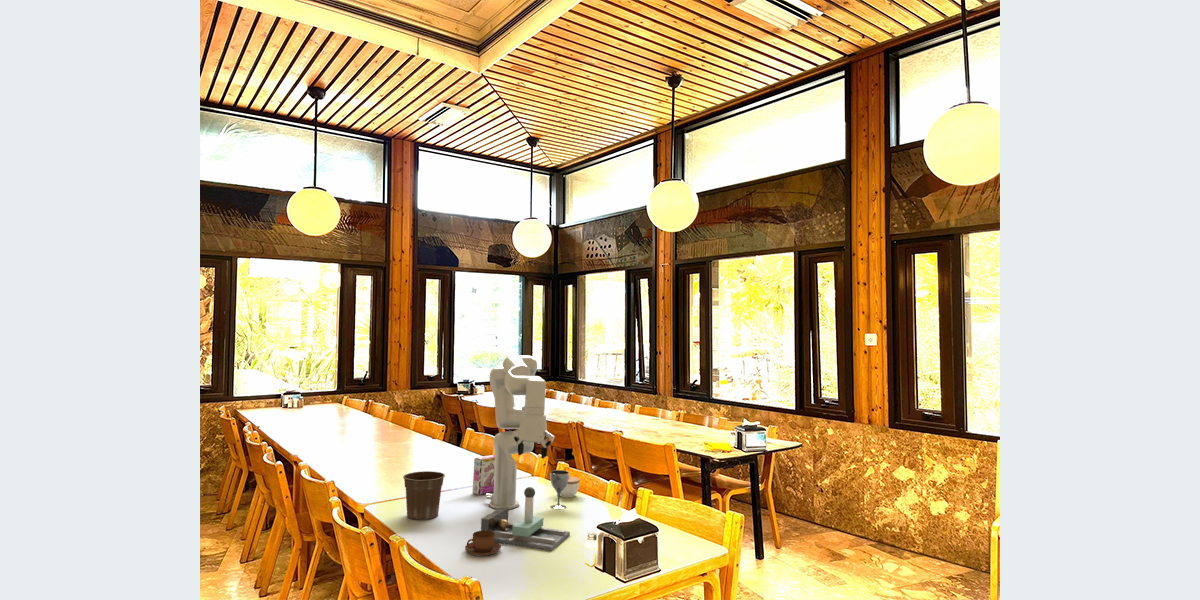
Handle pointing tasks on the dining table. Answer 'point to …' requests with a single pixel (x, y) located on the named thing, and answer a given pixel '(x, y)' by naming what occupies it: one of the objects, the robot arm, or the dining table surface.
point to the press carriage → (528, 517)
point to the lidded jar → (571, 487)
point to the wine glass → (559, 484)
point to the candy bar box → (483, 475)
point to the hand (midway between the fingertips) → (532, 456)
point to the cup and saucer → (482, 544)
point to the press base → (537, 540)
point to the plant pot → (423, 494)
